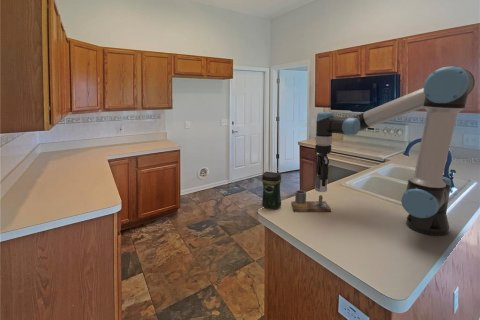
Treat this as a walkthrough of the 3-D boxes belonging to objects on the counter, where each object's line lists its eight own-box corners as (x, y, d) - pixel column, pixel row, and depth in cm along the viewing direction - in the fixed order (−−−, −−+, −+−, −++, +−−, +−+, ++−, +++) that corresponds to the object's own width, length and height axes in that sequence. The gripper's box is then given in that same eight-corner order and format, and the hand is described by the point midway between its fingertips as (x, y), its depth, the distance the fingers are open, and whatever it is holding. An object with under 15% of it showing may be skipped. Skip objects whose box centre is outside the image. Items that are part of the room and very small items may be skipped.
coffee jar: (282, 205, 142) (283, 171, 138) (277, 210, 135) (277, 175, 131) (265, 202, 146) (266, 169, 142) (260, 207, 140) (259, 173, 135)
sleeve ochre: (308, 205, 137) (308, 192, 135) (300, 207, 134) (300, 194, 132) (300, 201, 141) (300, 189, 140) (292, 204, 138) (292, 191, 137)
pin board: (325, 203, 142) (326, 191, 141) (330, 211, 132) (331, 198, 131) (291, 204, 143) (291, 192, 142) (294, 211, 133) (294, 199, 132)
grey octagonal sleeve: (328, 190, 135) (329, 177, 133) (321, 192, 132) (322, 179, 130) (320, 187, 139) (320, 174, 137) (312, 189, 136) (313, 176, 134)
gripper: (311, 141, 139) (309, 183, 145) (320, 148, 121) (317, 196, 126) (326, 141, 139) (323, 183, 144) (337, 148, 121) (334, 196, 126)
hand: (320, 189), depth 135 cm, fingers closed on grey octagonal sleeve, 6 cm apart
